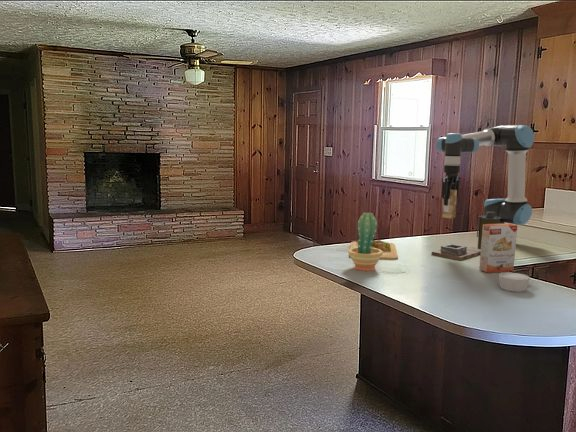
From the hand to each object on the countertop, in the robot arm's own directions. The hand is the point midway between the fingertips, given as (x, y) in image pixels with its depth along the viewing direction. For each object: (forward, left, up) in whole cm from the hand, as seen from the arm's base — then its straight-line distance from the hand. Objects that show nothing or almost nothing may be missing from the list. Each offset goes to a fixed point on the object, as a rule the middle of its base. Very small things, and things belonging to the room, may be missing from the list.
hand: (449, 211), depth 269 cm
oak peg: (0, 0, -3) cm, 3 cm away
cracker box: (+15, +34, -21) cm, 43 cm away
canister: (-22, +10, -21) cm, 33 cm away
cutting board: (+26, -27, -22) cm, 43 cm away
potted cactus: (+56, -8, -21) cm, 60 cm away
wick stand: (-2, +5, -21) cm, 22 cm away
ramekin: (+37, +51, -22) cm, 67 cm away
